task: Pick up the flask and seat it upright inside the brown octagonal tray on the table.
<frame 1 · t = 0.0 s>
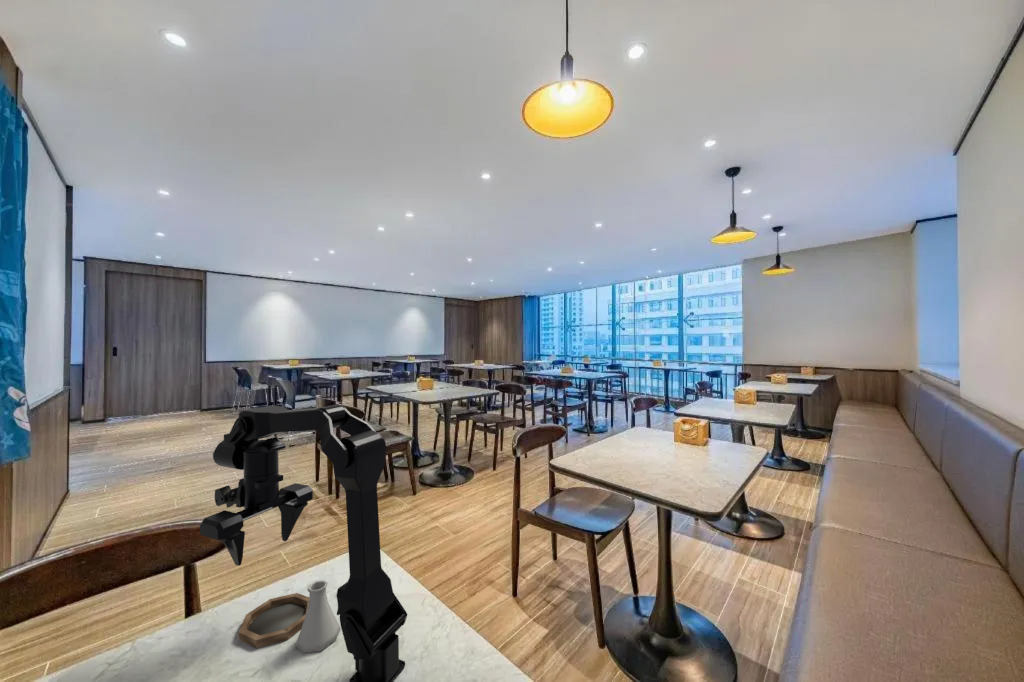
hand: (262, 552, 75), 15 cm above the table, fingers open, 9 cm apart
flask: (318, 639, 72), on the table
brown octagonal tray: (278, 622, 76), on the table
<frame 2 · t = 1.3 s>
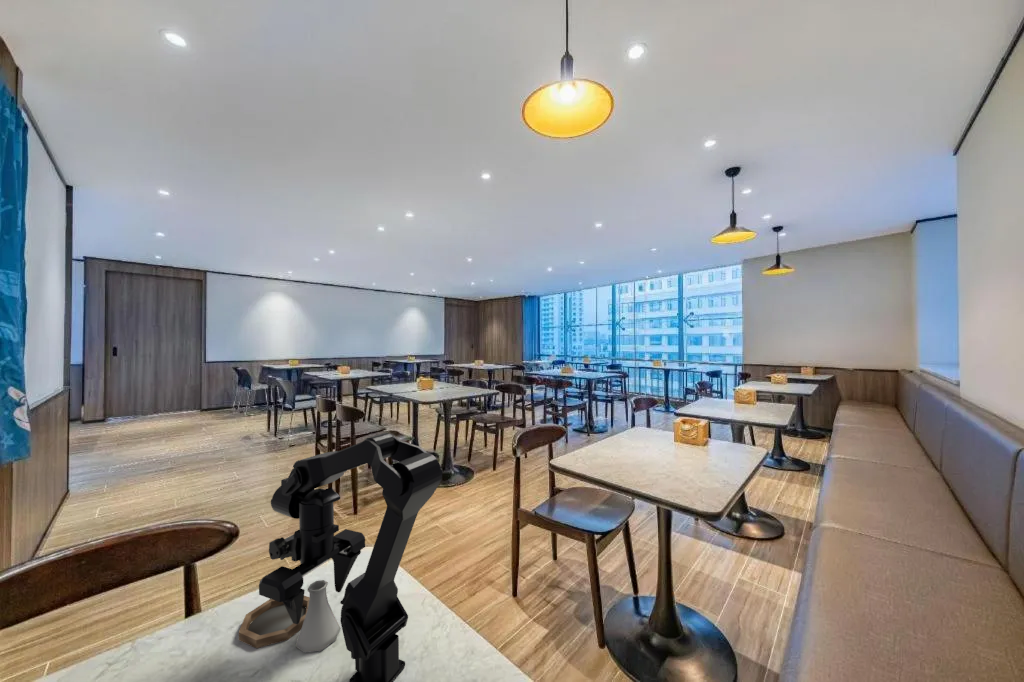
hand: (318, 606, 72), 6 cm above the table, fingers open, 9 cm apart
nothing on the table moved.
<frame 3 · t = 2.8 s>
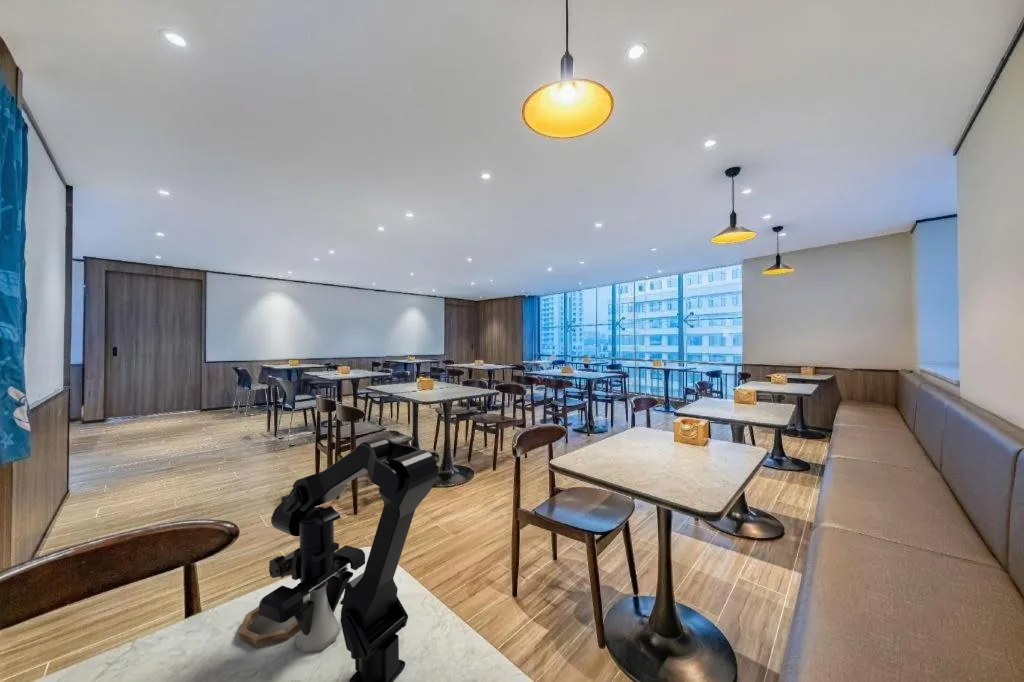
hand: (318, 624, 72), 3 cm above the table, fingers closed on flask, 5 cm apart
flask: (318, 639, 72), on the table, touching gripper
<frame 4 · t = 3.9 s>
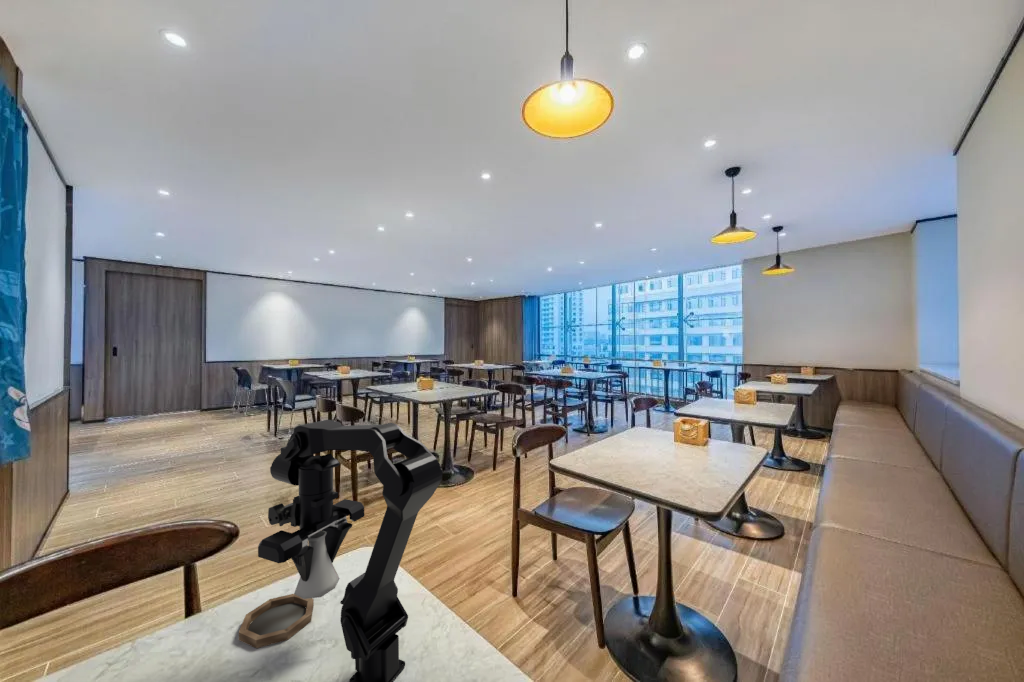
hand: (317, 572, 72), 12 cm above the table, fingers closed on flask, 5 cm apart
flask: (317, 588, 72), point 9 cm above the table, touching gripper
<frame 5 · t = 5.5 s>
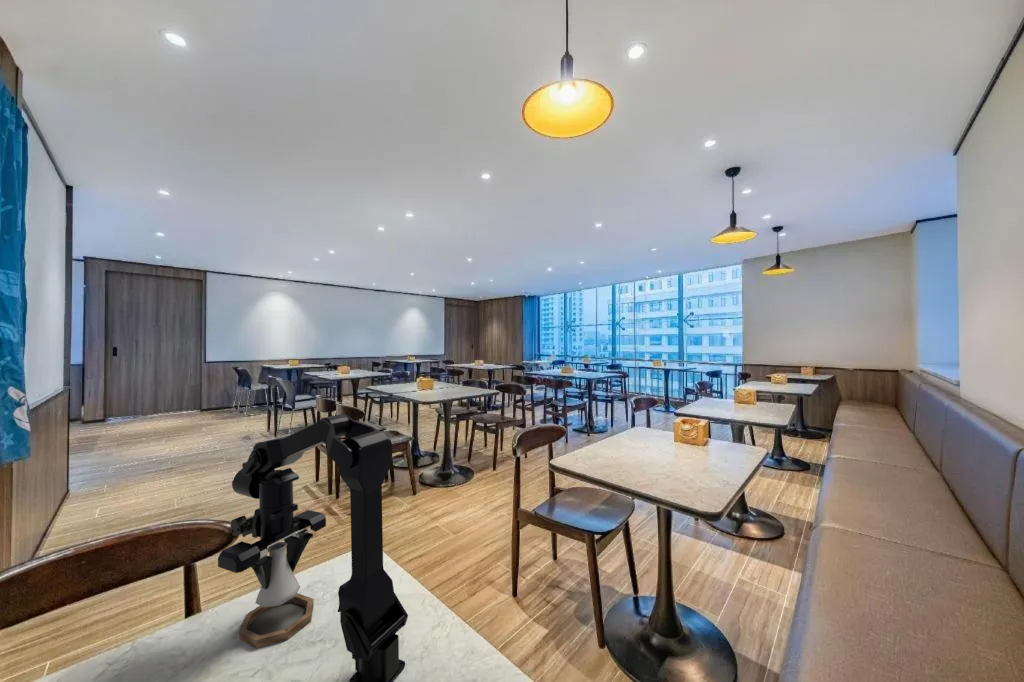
hand: (278, 580, 76), 8 cm above the table, fingers closed on flask, 5 cm apart
flask: (278, 597, 76), point 5 cm above the table, touching gripper
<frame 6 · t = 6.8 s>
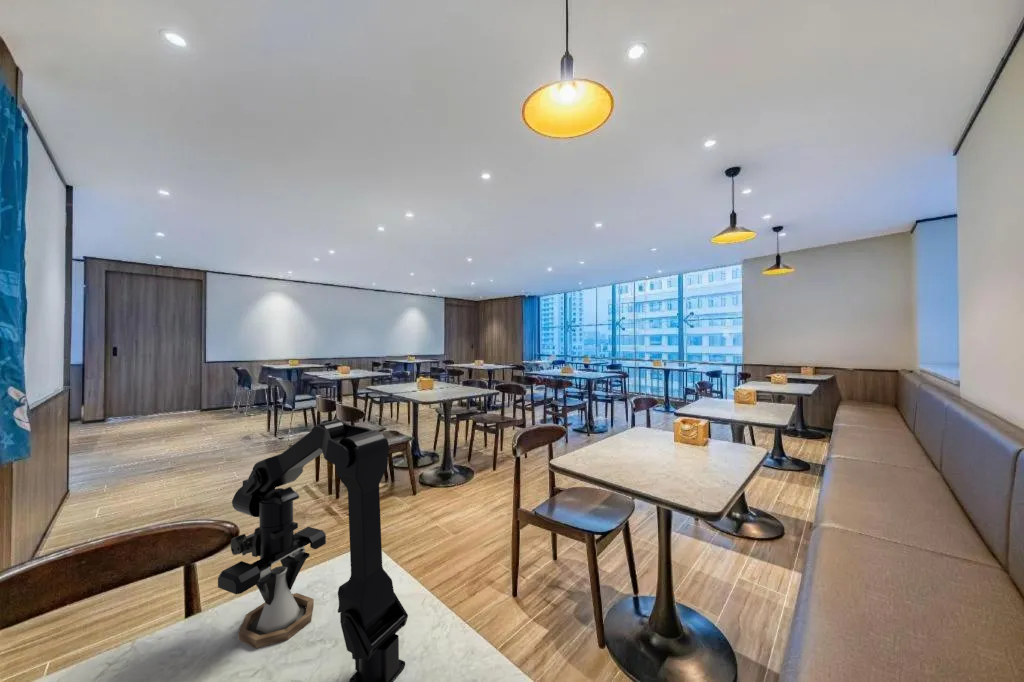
hand: (277, 599, 76), 5 cm above the table, fingers closed on flask, 3 cm apart
flask: (278, 621, 76), resting on brown octagonal tray, touching gripper
when the fingers open (5 cm above the table, at t = 6.8 s): flask stays where it is, resting on brown octagonal tray.
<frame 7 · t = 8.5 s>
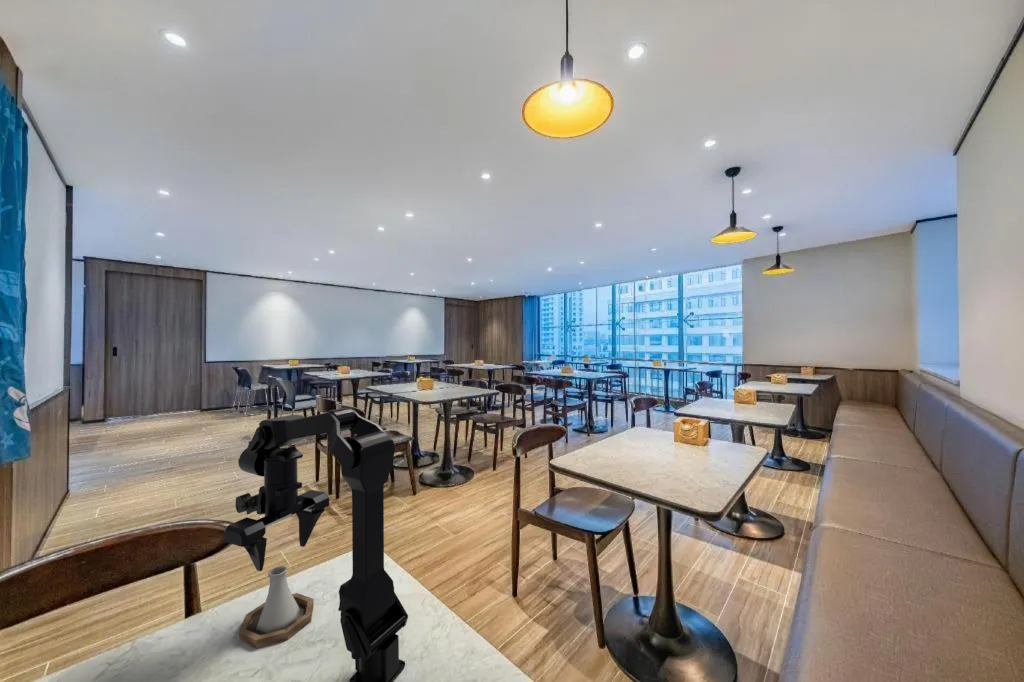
hand: (282, 557, 77), 12 cm above the table, fingers open, 9 cm apart
flask: (278, 621, 76), resting on brown octagonal tray
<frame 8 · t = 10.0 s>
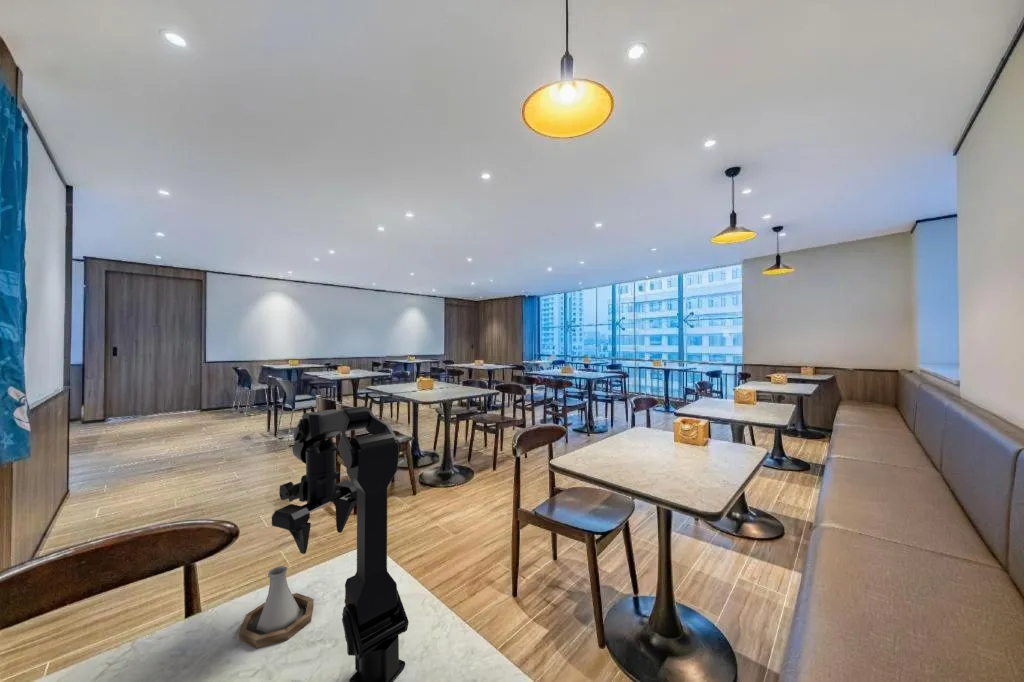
hand: (322, 542, 83), 12 cm above the table, fingers open, 9 cm apart
nothing on the table moved.
at the end: flask 0.2 cm from the brown octagonal tray (horizontally); flask tilted 0°; the gripper is holding nothing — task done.
